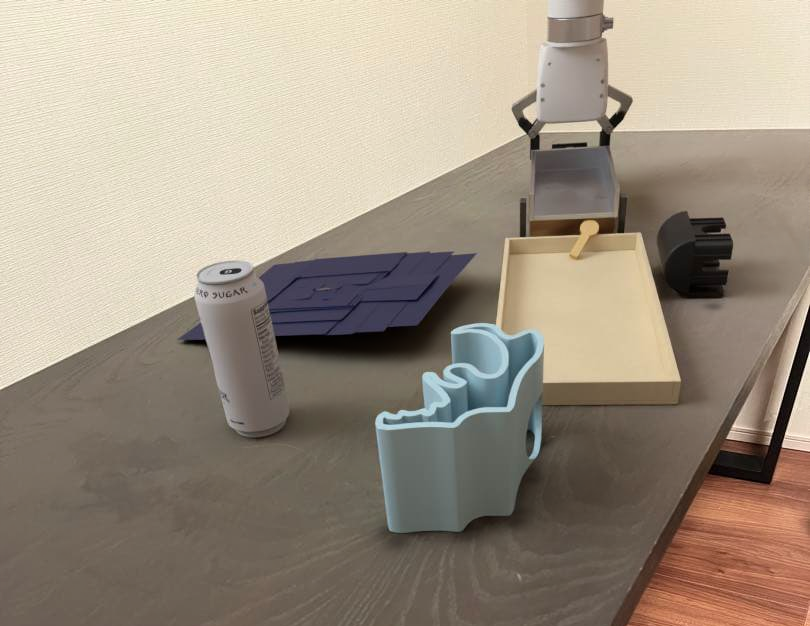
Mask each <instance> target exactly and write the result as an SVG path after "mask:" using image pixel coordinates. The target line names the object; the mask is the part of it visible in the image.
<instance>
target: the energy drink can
mask: <svg viewBox="0 0 810 626" xmlns="http://www.w3.org/2000/svg"><path fill="white" fill-rule="evenodd" d="M195 277H196V280H197V283H196V288H195V291H194V295H193V297H194V301H195V306H196V309H197V313H198V317H199V320H200V323H201V324H202V328H203V332H204V335H205V339H204V340H205V342H206V346H207V351H208V355H209V357H210V361H211V366H212V369H213V373H214V377H215V380H216V385H217V389H218V392H219V395H220V399H221V403H222V406H223V411H224V414H225V418H226V422H227V424H228V426H229V427H230V428H231V429H233V430H234V431H235V432H236V433H237V434H238V435H240V436H242V437H245V438H262V437H267V436H270V435H272V434H275V433H277V432H279V431H280V430H281V429H282V428H283V427H284V426H285V425H286V423H287V419H288V417H289V416H290V413H291V411H290V410H291V409H290V404H289V400H288V399H289V398H288V394H287V390H286V385H285V380H284V376H283V371H282V370H283V369H282V366H281V360H280V356H279V351H278V346H277V340H276V336H274V331H273V326H272V321H271V316H270V311H269V306H268V302H267V297H266V292H265V287H264V283H263V282H262V281H261V279H260V278H259V277H260V276H259V275H257V273H256V272H255V271H254V265H253V264H252V263H251V262H249V261H245V260H234V259H233V260H225V261H218V262H215V263H212V264H209V265H207V266H204V267H202V268H201V269H200V270H198V271H197V273H196V275H195Z"/></svg>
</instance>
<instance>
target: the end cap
mask: <svg viewBox="0 0 810 626" xmlns="http://www.w3.org/2000/svg"><path fill="white" fill-rule="evenodd" d="M726 228H727V223H726V220H725V218H724V217H721V216H720V217H694V218H693V217H692V218H691V217H690V216H689V213H688V211H687V210H683V211H679V212H676V213H674V214H672V215H671V216H669V217H668V218H667V219H665V220H664V221H663V223H662V224H661V226H660V228H659V229H658V232H657V235H656V247H657V251H658V257H659V261H660V267H661V271H662V276H663V277H662V278H663V279H664V282H665V284H667V286H668V288H670V289H671V290H673V291H674V292H675V293H676V294H677V295H679V296H680V297H682V298H687V299H709V298H710V299H713V298H715V299H717V298H722V297H724V295H725V288H724V286H726V285H727V284H728V279H729V272H730V271H729V269H718V268H720V265H721V263H720V262H721V261H725V260H727V261H728V260H729V261H730V260H732V257H733V256H732V255H733V251H734V250H733V249H734V240H733V238H732V235H731V233H728V232H727V233H721V232H722V230H725V229H726Z"/></svg>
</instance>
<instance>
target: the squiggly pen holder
mask: <svg viewBox="0 0 810 626" xmlns="http://www.w3.org/2000/svg"><path fill="white" fill-rule="evenodd" d="M450 341H451V360H452V361H451V362H452V364H449V365H447V366H446V367H445V368H444V369H443V370H442V379H441V378H440V377H439V375H438V374H437V373H436V372H433V371H426V372H423V374H422V377H421V380H422V393H423V394H422V395H423V406H424V407H423V408H421V409H417V410H412V411H411V410H406V409H400V410H399V411H397V413H396V414H393V413H392V412H389V411H386V410H385V411H382V412H380V413H379V414H378V415H376V418H375V421H374V424H375V433H376V440H377V449H378V457H379V465H380V473H381V480H382V489H383V498H384V504H385V513H386V519H387V520H386V521H387V527H388V530H389V532H392V533H397V534H406V533H417V532H434V531H435V532H436V531H437V532H439V531H441V532H442V531H443V532H452V533H453V532H455V533H460V532H463V531H464V529H465V528H466V527H467V526H468V524H469V523H471V522H472V521H473V520H476V519H478V518H481V517H485V516H486V517H488V516H489V517H509V516H511V515H512V514H513V512H514V511H515V506H516V499H517V495H518V491H519V487H520V484H521V481H522V478H523V476H524V475H525V473H526V472H527V470H528V469H529V467H530V466H531V465H532V463H534V461H535V460H536V459H537V457H538V455H539V453H540V450H541V444H542V434H543V433H542V432H543V430H542V429H543V427H542V426H543V422H542V421H543V420H542V419H543V417H542V415H543V405H542V398H543V367H544V338H543V335H542V334H541V333H540V332H539V331H537V330H534V329H527V330H525V331H522V332H520V333H518V334H515V335H512V336H510V335H507V334H505V333H504V332H503V331H502V330H501V329H500V328H499V327H498V326H496V324H494V323H488V322H477V323H471V324H465V325H461V326H459V327H456V328H454V329H453V330H451V332H450ZM528 430H529V431H530V432H532V433H533V435H534V444H533V449H532V452H531V454H530V456H528V454H527V446H526V442H527V432H528Z"/></svg>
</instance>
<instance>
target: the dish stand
mask: <svg viewBox="0 0 810 626" xmlns="http://www.w3.org/2000/svg"><path fill="white" fill-rule="evenodd" d="M627 210H628V195H627V193H626V192H620V196H619V208H618V217H617V226H616V217H611V218H588V219H565V220H542V221H534V220H533V221H529V237H543V236H568V235H581V233H580V226H581V224H582V223H583V222H584V221H586V220H594V221H596V222H597V223H598V225H599V232H598V234H615V230H616V234H618V233H626V232H625V231H626V221H627ZM615 226H616V229H615ZM519 237H527V197H521V198H520V199H519Z"/></svg>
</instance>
